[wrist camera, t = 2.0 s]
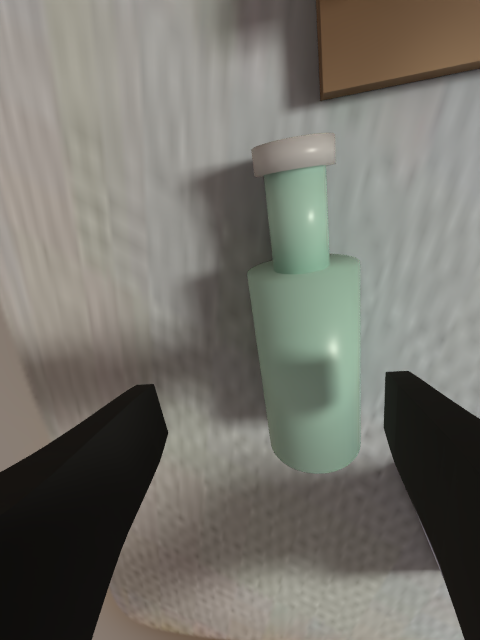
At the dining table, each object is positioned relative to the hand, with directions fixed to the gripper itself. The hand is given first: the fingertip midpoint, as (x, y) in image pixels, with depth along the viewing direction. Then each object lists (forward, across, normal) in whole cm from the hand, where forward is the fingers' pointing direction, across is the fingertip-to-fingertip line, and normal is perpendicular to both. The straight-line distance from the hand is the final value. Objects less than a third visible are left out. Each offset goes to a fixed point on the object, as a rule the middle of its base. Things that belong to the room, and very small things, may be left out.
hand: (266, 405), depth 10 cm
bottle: (+5, 0, -1) cm, 5 cm away
